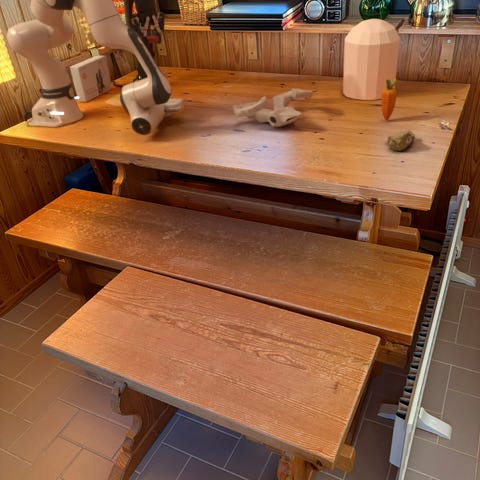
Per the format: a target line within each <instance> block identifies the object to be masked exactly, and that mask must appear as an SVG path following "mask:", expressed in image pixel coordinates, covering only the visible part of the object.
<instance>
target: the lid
mask: <svg viewBox="0 0 480 480" xmlns="http://www.w3.org/2000/svg"><path fill="white" fill-rule="evenodd" d="M147 39H148V43H153V44H155V43H156V42H158V41H159V37H158V36H156V35H155V34H154V35H152V36H147Z"/></svg>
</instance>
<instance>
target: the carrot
mask: <svg viewBox="0 0 480 480" xmlns="http://www.w3.org/2000/svg"><path fill="white" fill-rule="evenodd" d="M397 81H398V78H396V79H395V80H394V82H393V84H391V82H390V79H386V83H387V85H386V87H387V88H386V89H384V90H383V91H382V98H381V99H380V101H381V102H380V104H381V112H382V113H381V114H382V117H383V119H384V120H385V121H386V122H388V121H389V119H390V118H391V117H392V114H393V112H394V109H395V106H396V101H397V96H398V95H397V94H398V91H397V89H396V88H395V89H394V88H393V86H394V84H395V85H396V83H397ZM389 85H390V86H389ZM391 85H392V86H391Z"/></svg>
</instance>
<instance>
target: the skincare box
mask: <svg viewBox="0 0 480 480" xmlns="http://www.w3.org/2000/svg"><path fill="white" fill-rule="evenodd" d="M69 70H70V74H71V78H72V82H73V86H74V90H75V94H76V97H79V98H77V102H81V103H82V102H84V103H87V102H89V101H91V100H93V99H95V98H97V97H100V96H101V95H103V94H105V93H107V92H108V91H110V90H112V89H113V86H112V82H111V81H110V80H111V76H110V72H109V71H110V70H109V66H108V62H107V57H106V55H100V54H99V55H95V56H92V57H90V58H87V59H85V60H83V61H80V62H78V63H75V64H73V65H71V66H69Z"/></svg>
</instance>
